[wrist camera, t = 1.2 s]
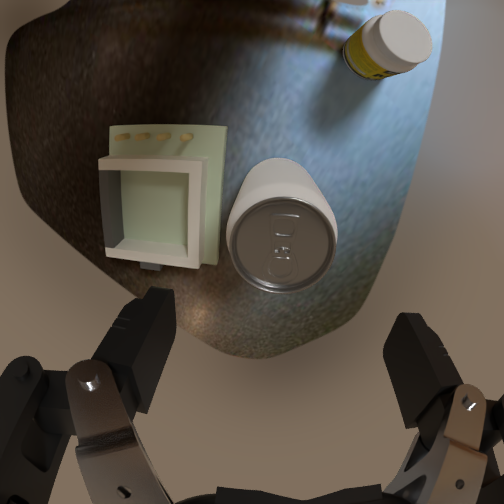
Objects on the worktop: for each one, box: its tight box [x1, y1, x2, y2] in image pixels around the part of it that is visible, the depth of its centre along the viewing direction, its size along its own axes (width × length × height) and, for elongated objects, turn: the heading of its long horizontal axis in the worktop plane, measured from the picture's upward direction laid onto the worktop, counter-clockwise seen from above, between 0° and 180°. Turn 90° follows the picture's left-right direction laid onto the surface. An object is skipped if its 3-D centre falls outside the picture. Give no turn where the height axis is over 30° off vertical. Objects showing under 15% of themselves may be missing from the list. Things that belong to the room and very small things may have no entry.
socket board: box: [98, 124, 228, 271], centre depth 25 cm, size 13×11×4 cm
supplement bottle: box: [343, 10, 432, 80], centre depth 16 cm, size 5×5×8 cm
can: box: [226, 158, 337, 294], centre depth 20 cm, size 6×6×12 cm
